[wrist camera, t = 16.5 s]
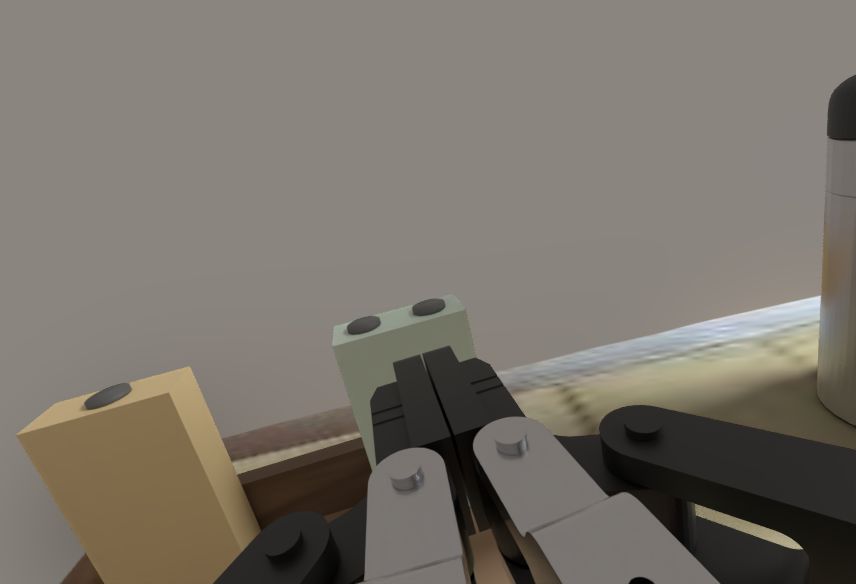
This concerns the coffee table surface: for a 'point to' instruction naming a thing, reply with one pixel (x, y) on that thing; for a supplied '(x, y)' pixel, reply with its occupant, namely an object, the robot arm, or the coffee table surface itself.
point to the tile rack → (339, 496)
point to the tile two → (395, 350)
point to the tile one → (144, 481)
